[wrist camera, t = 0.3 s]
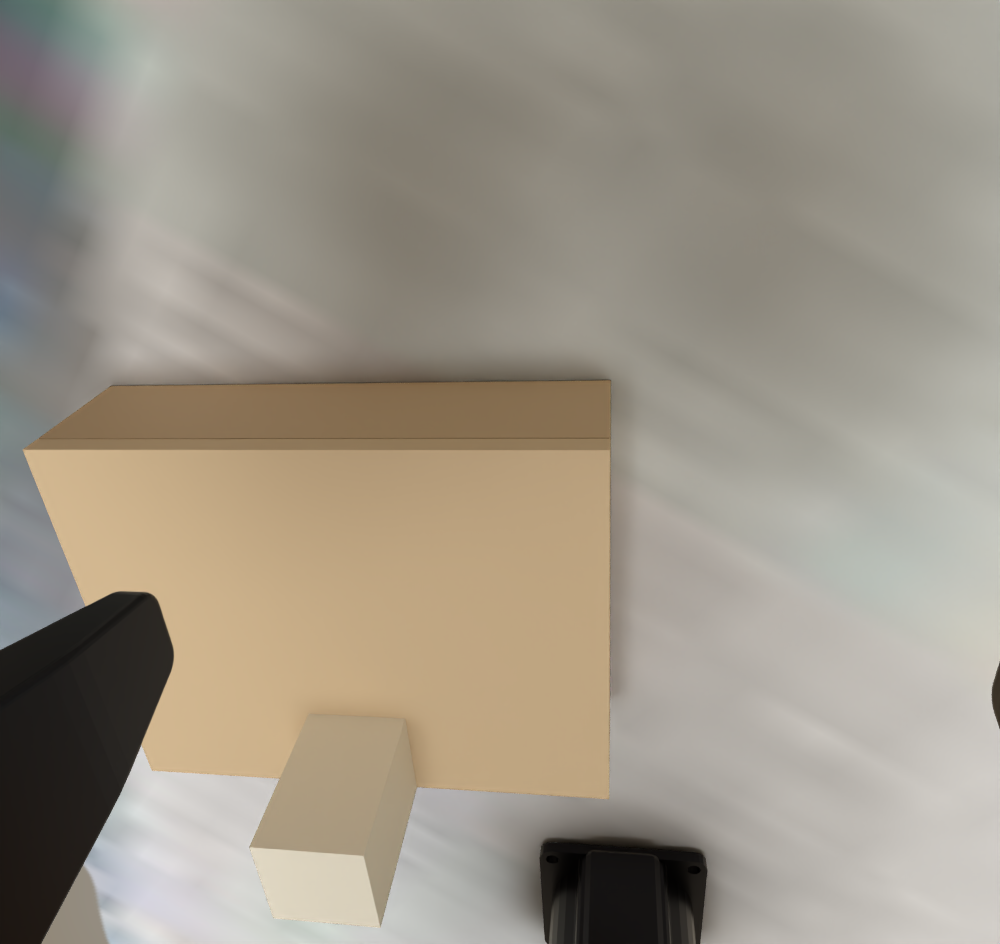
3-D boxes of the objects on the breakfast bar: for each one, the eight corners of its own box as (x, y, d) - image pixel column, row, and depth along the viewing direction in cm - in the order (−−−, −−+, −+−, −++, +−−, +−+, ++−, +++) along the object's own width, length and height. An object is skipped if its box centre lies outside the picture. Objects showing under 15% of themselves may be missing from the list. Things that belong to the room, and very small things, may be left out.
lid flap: (608, 782, 25) (607, 947, 20) (160, 755, 27) (71, 900, 22) (610, 438, 19) (608, 565, 14) (37, 439, 21) (-117, 549, 17)
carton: (610, 698, 28) (609, 781, 25) (207, 680, 30) (161, 754, 27) (611, 380, 22) (609, 437, 19) (111, 386, 24) (38, 438, 21)
